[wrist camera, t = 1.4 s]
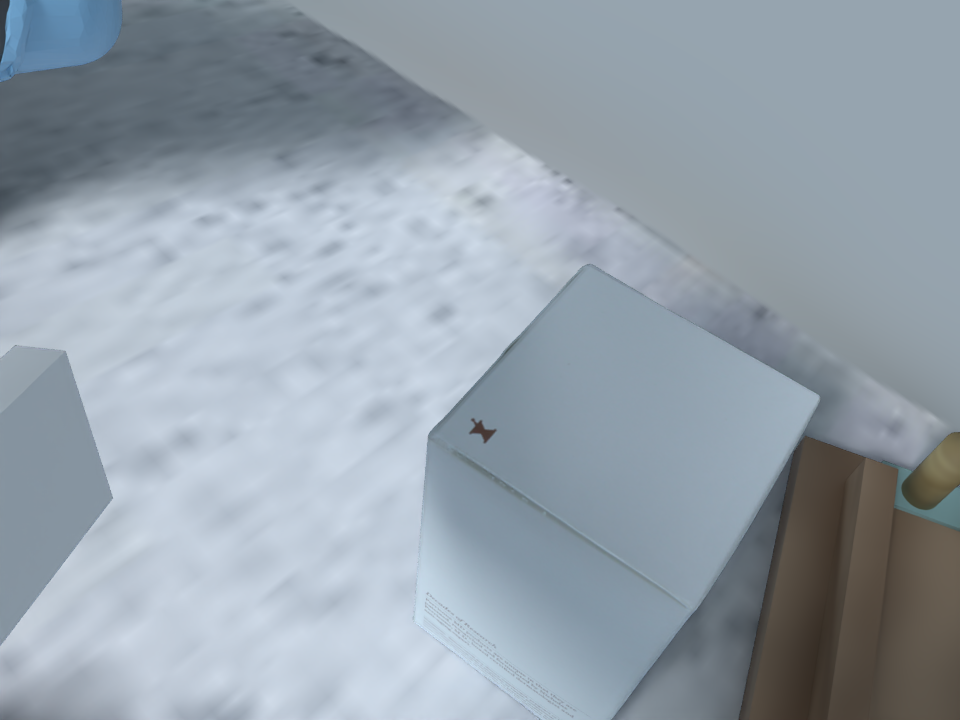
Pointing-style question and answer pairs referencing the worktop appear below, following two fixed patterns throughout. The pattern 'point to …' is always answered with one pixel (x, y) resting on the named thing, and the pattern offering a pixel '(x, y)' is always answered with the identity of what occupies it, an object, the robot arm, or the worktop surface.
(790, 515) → the brown shallow tray
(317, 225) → the worktop surface
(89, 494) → the robot arm
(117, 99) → the worktop surface
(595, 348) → the supplement box
